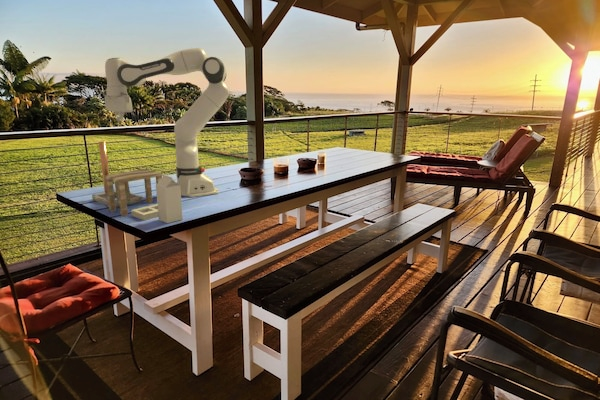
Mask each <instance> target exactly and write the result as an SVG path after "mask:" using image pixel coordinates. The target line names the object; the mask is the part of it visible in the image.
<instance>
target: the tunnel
mask: <svg viewBox="0 0 600 400" xmlns="http://www.w3.org/2000/svg"><path fill="white" fill-rule="evenodd" d="M163 175H164V174H163V172H160V171H156V170H153V169H148V168H145V169H144V168H143V169H139V170H138V169H137V170H131V171H130V170H129V171H125V172H119V173H118V172H117V173H111V174H110V173H109V175H105V178H106V185H107V194H108V198H107V200H108V202H109V206H108V209H109V212H111V213H112V212H116V211H117V207H116V205H115V202H116V197H115V196H114V191H115V189H114V188H115V187H114V182H115V181H116V182H117V184H118V193H119V202H120V206H119V211H120V216H121V217H126V216H129V215H128V213H129V212H128V205H127V203H126V194H125V185H124V182H127V181H129V182H132V181H138V180H143V181H144V191H145V202H146V203H147V204H151V203H152V204H153V194H152V184H151V183H152V182H151V178H155V185H156V184H157V183H158V182H159V181H160V180H161V179H162V178H163Z"/></svg>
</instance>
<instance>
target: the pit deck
mask: <svg viewBox="0 0 600 400" xmlns="http://www.w3.org/2000/svg"><path fill="white" fill-rule="evenodd" d="M130 213H131V216H132V217H135V218H137V219H139V220H143V221H148V220H151V219H155V218H159V217H158V205H157V203H156V204H152V205H147V206H143V207H142V206H141V207H139V208H134V209H131V212H130Z"/></svg>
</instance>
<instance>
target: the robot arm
mask: <svg viewBox="0 0 600 400" xmlns="http://www.w3.org/2000/svg"><path fill="white" fill-rule="evenodd" d="M104 69H105V78H106V83H107V84H106V89H105V90H103V92H102V94H103V95H102V96H103V97H104V105H105V109H106V111H109V112H114V115H115V117H116V121H118V122H119V121H120V122H123V121H124V116H125V113H132V112H133V103H132V99H131V97H130V95H129V94H128V89H127V88H128V87H139V86H141V85H143V84H144V83H146V79H148V78H152V77H155V76H159V75H171V76H180V75H187V74H192V73H194V72H201V73H202V74H203V75H204V78H205V79H206V80H207V81H208V86H207V87H206V89H204V91H203V92H202V93H201V94H200V96H199V97H198V98H197V99H196V100H195V101H194V102H193V103H192V104H191V106H190V107H189V108H188V110H187V111H185V113H184V114H182V116H181V117H180V118H179V119H177V120H176V122H175V125H174V126H173V127H174V128H173V132H174V141H175V142H174V143H175V159H176V160H175V161H176V168H175V176H176V179H177V180H176V183H178V184H179V185H180V189H181V197H182V196H183V197H188V198H196V197H202V196H203V197H204V196H209V195H210V196H211V195H216V194H219V193H220V190H219V188H217V186H215V182H214V180H213V179H212V178H211V177H209V176H208V175H207V174H205V170H206V169H205V168H204V167H202V166H200V164H199V163H200V162H199V148H198V146H199V145H198V134H200V133H201V131H202V130H203V129H204V128H205V126H207V124H208V123H209V121H210V120H211V119H212V117H214V115H216V113H217V112H218V111H219V110H220V109H221V108H222V106H223V105H224V104H225V102H226V101H227V99H228V97H229V96H230V89H229V87H228V86H227V85H226V83H225V80H226V78H227V69H226V66H225V65H224V63H223V61H222V60H221V59H220V58H218V57H216V56H209V57H208V55H207V52H206V51H205V50H204V49H203V48H201V47H194V48H193V47H191V48H186V49H182V50H178V51H175V52H173V53H171V54H168V55H167V56H164V57H162V58H160V59H158V60H153V61H150V62H146V63H142V64H131V63H130V62H127V61H126V60H124V59H123V58H122V57H111V58H108V59H106V61H105V65H104Z"/></svg>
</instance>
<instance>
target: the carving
mask: <svg viewBox="0 0 600 400" xmlns="http://www.w3.org/2000/svg"><path fill="white" fill-rule="evenodd" d="M129 182H130V181H127V182H124V185H125V194H126V199H130V198H131V195H130V193H131V191H130V185H129ZM114 188H115V190H116V197H115V199H116V201H119V193H118V184H117V182H116V181H114Z"/></svg>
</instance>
